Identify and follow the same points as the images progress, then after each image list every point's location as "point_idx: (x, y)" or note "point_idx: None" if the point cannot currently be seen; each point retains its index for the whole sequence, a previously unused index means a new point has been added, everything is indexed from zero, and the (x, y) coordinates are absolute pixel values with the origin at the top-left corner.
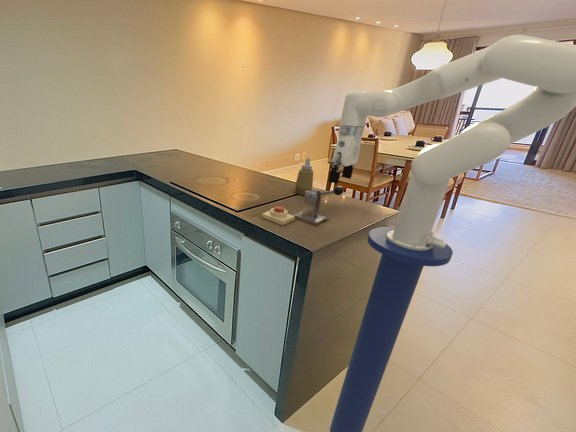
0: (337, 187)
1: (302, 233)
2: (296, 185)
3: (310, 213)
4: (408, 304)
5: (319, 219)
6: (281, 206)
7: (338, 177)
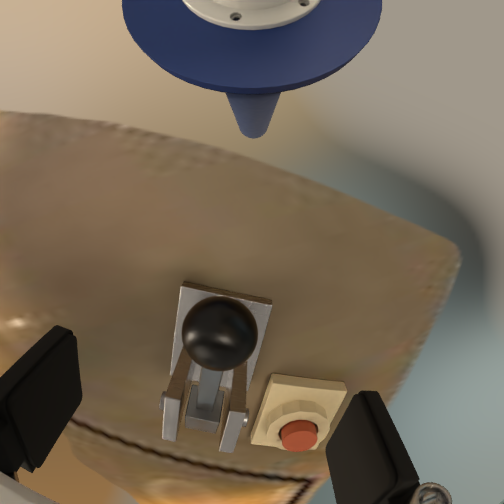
0: (237, 360)
1: (374, 311)
2: None
3: None
4: None
5: None
6: (283, 441)
7: (397, 434)
